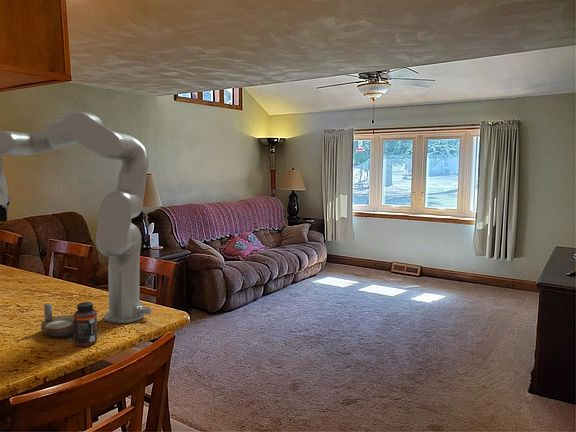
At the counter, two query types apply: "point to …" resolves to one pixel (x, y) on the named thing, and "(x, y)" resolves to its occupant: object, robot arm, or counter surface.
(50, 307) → the turntable
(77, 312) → the supplement bottle
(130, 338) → the counter surface
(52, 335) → the turntable base
